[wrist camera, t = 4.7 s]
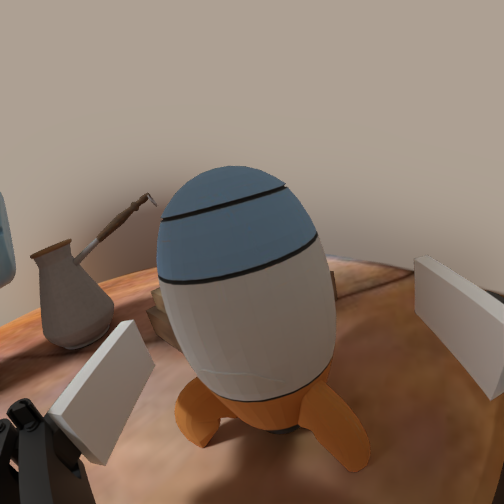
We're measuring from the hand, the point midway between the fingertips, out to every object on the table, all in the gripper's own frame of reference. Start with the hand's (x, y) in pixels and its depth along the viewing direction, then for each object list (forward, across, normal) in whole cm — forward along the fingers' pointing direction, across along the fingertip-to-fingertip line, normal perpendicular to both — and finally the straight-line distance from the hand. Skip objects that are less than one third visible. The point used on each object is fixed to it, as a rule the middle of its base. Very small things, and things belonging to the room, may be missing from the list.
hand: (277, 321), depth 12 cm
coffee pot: (+18, -22, -8) cm, 30 cm away
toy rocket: (-1, 0, -8) cm, 8 cm away
